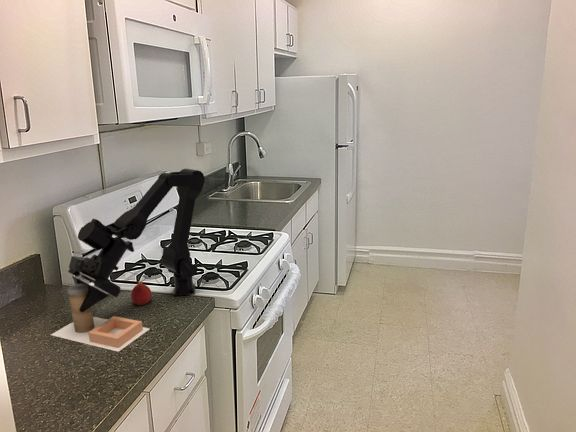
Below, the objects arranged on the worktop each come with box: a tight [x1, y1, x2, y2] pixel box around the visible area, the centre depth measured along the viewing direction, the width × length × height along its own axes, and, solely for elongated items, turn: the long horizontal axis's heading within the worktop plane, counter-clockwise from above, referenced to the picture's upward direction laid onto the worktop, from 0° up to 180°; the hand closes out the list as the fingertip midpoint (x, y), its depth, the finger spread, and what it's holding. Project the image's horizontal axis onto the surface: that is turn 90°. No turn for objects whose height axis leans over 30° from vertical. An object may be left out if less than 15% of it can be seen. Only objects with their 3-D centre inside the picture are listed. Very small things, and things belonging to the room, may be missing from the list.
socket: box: [88, 315, 144, 348], centre depth 128 cm, size 9×9×2 cm
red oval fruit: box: [130, 280, 152, 306], centre depth 147 cm, size 6×6×8 cm
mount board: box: [50, 316, 150, 353], centre depth 131 cm, size 23×12×1 cm, turn 66°
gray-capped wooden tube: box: [67, 284, 94, 333], centre depth 131 cm, size 5×5×12 cm
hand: (76, 308), depth 130 cm, fingers closed on gray-capped wooden tube, 5 cm apart
